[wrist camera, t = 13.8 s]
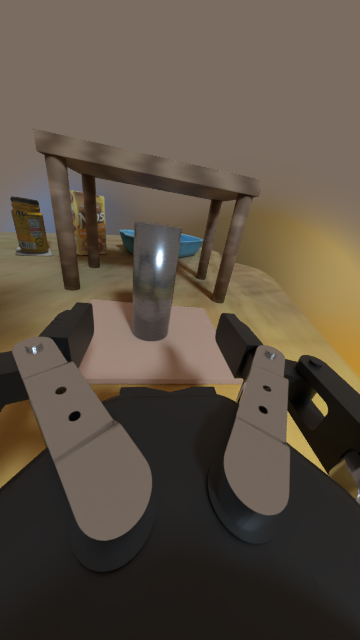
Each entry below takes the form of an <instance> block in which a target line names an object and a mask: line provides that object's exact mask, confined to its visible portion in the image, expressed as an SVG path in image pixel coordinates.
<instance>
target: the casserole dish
mask: <svg viewBox="0 0 360 640" xmlns="http://www.w3.org/2000/svg"><path fill="white" fill-rule="evenodd" d="M120 234H121V238H122V241H123V244H124V246H125V248H126V249H127V250H128V251H129V252H131V253H134V230H120ZM202 242H203V239H200V238H197V237H194V236H190V235H185V234H181V240H180V248H179V255H178V258H182V257H188V256H192V255H194V254H195V253H197V251H198V250H199V248H200V246H201V244H202Z"/></svg>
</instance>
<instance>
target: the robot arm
mask: <svg viewBox="0 0 360 640" xmlns="http://www.w3.org/2000/svg"><path fill="white" fill-rule="evenodd" d="M93 335H94V317H93V306H92V304H91V303H79V302H77V303H76V304H75V305H74V307H73V308H72V309H71V310H65V311H63V312H62V313H60V314H58V315H57V316H56V317H55V318H54V320H53V321H52V322H51V323H50V324H49V325H48V326H47V327H46V328H45V330H44V331H43V332H42V333H41V334H40V335H39V336H38V337H33V338H29V339H26V340H23V341H21V342H19V343H18V344H16V345H15V346H14V347H13V349H12V351H10V352H3V353H0V412H1V410H2V409H3V407H4V406H5V405H7V404H11V403H15V402H19V401H23V400H27V399H29V402H30V404H31V407H32V410H33V412H34V415H35V418H36V421H37V423H38V426H39V429H40V431H41V434H42V437H43V440H44V443H45V445H46V449H45V450H43V451H42V452H41V453H40V454H39V455H38V456H37V457H35V458H34V459H33V460H32V461H31V462H30V463H29V464H27V465H26V466H25V467H24V468H23V469H22V470H21V471H20V472H18V473H17V474H16V475H15V476H14V477H13V478H12V479H10V480H9V481H8V482H7V483H6V484H5V485H4V486H2V487H1V488H0V640H360V394H359V393H358V392H357V391H355V390H354V389H353V388H352V387H351V386H350V385H349V384H348V383H347V382H346V381H345V380H343V379H342V378H341V377H340V376H339V375H338V374H337V373H336V372H335V371H334V370H333V369H331V368H330V367H329V366H328V365H327V364H326V363H325V362H323V361H322V360H320V359H318V358H316V357H313V356H309V355H302V356H301V357H300V359H299V360H298V362H296V361H291V360H287V359H285V357H284V355H283V354H282V353H281V352H280V351H279V350H277V349H275V348H273V347H270V346H266V345H263V344H262V342H261V341H260V340H259V339H258V338H257V337H256V335H254V333H253V332H252V331H251V330H250V328H249V327H248V326H247V325H245V324H244V323H242V322H241V321H240V320H239V319H238V318H237V317H236V316H235V314H229V313H222V314H221V316H220V319H219V323H218V326H217V330H216V334H215V340H216V343H217V345H218V347H219V349H220V351H221V353H222V355H223V357H224V359H225V361H226V363H227V365H228V367H229V369H230V371H231V373H232V375H233V377H234V378H243V380H244V381H243V383H242V385H241V388H240V391H239V394H238V397H237V399H236V402H235V401H233V400H231V399H229V398H227V397H224V396H221V395H218V394H216V391H215V388H214V387H190V388H186V389H182V390H178V391H174V392H166V391H161V390H156V389H151V388H146V387H123V388H121V390H120V395H119V396H115V397H112V398H109V399H107V400H105V401H102V402H101V401H100V400H99V398H98V397H97V396H96V394H95V393H94V391H93V390H92V388H91V387H90V385H89V384H88V382H87V381H86V380H85V378H84V377H83V375H82V374H81V372H80V371H79V366H80V364H81V362H82V360H83V358H84V355H85V353H86V351H87V349H88V347H89V344H90V342H91V340H92V338H93ZM316 393H318V394H319V395H320V396H321V398H322V399H323V400H324V401H325V402H326V404H327V406H328V414H327V415H326V416H325V417H324V416H323V414H322V413H321V412H320V411H319V409H318V408H317V407H316V405H315V404H314V403H313V402H312V398H313V397H314V396H315V394H316ZM287 410H288V412H289V413H290V415H291V417H292V418H293V420H294V421H295V423H296V425H297V426H298V428H299V429H300V431H301V432H302V434H303V436H304V437H305V439H306V440H307V442H308V444H309V445H310V447H311V448H312V450H313V451H314V453H315V455H316V456H317V458H318V459H319V461H320V462H321V464H322V466H323V467H324V469H325V470H326V472H327V474H328V475H329V476H328V475H327V474H326V473H324V472H323V471H322V470H321V469H319V468H318V467H317V466H316V465H314V464H313V463H312V462H311V461H309V460H308V459H307V458H306V457H304V456H303V455H302V454H301V453H299V452H298V451H297V450H296V449H294V448H293V447H292V446H291V445H289V444H288V443H287V442H286V429H287Z"/></svg>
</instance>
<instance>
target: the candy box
mask: <svg viewBox="0 0 360 640" xmlns="http://www.w3.org/2000/svg"><path fill="white" fill-rule="evenodd" d="M70 199H71V208H72V217H73V226H74V235H75V245H76V254H78V255H88V247H87V235H86V223H85V210H84V198H83V192H78V191H73V190H70ZM96 205H97V224H98V242H99V254H106V253H107V252H106V230H105V207H104V197H102V196H98V195H96Z"/></svg>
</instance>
